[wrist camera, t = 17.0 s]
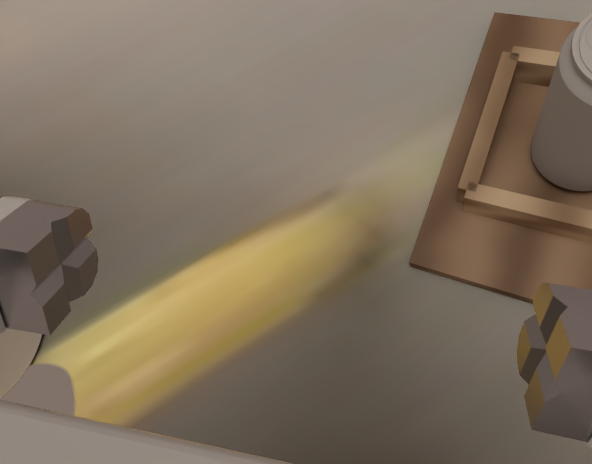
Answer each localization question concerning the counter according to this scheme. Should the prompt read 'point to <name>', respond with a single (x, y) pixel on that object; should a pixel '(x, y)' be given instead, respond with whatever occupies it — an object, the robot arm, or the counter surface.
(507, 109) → the tray
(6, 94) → the counter surface
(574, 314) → the robot arm
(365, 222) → the counter surface
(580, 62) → the beverage can
